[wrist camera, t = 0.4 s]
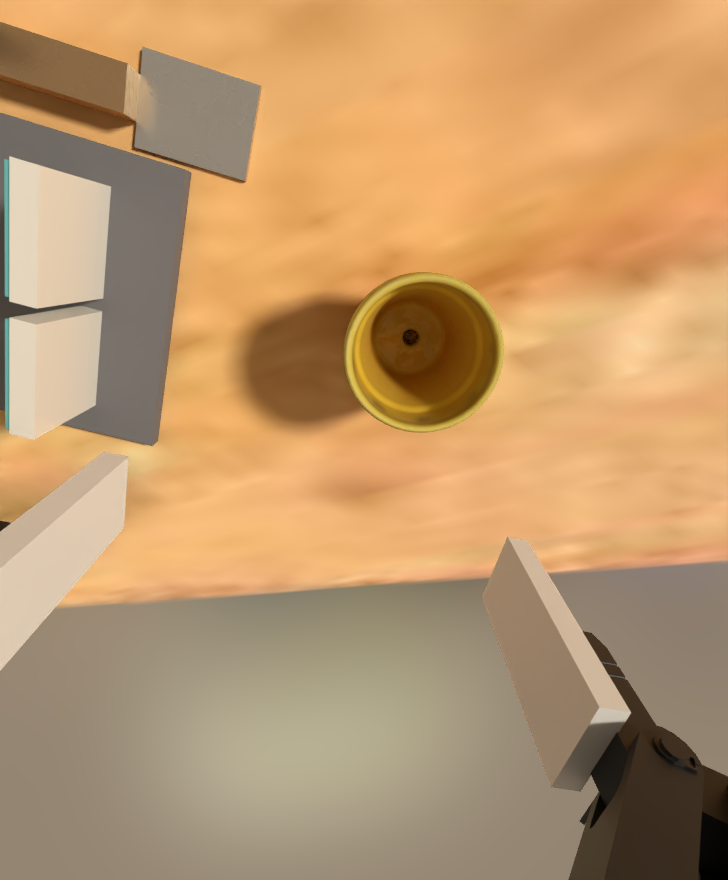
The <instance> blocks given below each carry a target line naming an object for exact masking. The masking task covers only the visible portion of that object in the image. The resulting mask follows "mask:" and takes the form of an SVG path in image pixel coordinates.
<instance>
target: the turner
mask: <svg viewBox="0 0 728 880" xmlns="http://www.w3.org/2000/svg"><path fill="white" fill-rule="evenodd" d="M0 80H3V81H6V82H10V83H13V84H16V85H19V86H22V87H25V88H29V89H32V90H35V91H38V92H41V93H45V94H48V95H51V96H54V97H57V98H61V99H64V100H67V101H70V102H73V103H77V104H80V105H83V106H86V107H89V108H93V109H96V110H99V111H102V112H105V113H108V114H112V115H115V116H118V117H121V118H124V119H128V120H131V121H134V122H136V132H135V144H134V147H135V148H138V149H141V150H144V151H147V152H151V153H154V154H157V155H160V156H164V157H167V158H170V159H174V160H177V161H180V162H183V163H187V164H190V165H193V166H196V167H200V168H203V169H206V170H209V171H213V172H216V173H219V174H222V175H226V176H229V177H232V178H235V179H239V180H242V181H245V182H246V181H247V175H248V169H249V163H250V157H251V150H252V144H253V138H254V132H255V126H256V120H257V113H258V107H259V101H260V95H261V89H262V88H261V86H260V85H257V84H254V83H251V82H248V81H245V80H242V79H239V78H235V77H232V76H229V75H226V74H223V73H220V72H217V71H214V70H211V69H208V68H205V67H202V66H199V65H196V64H193V63H190V62H187V61H184V60H181V59H178V58H175V57H172V56H169V55H166V54H163V53H160V52H157V51H154V50H151V49H148V48H145V47H143V49H142V61H141V73H140V74H139V73H138V72H137V71H135V70H134V69H133V68H132V67H131V66H130V65H128V64H127V63H124V62H121V61H118V60H115V59H112V58H109V57H106V56H103V55H100V54H97V53H94V52H90V51H87V50H84V49H81V48H78V47H75V46H72V45H69V44H66V43H63V42H60V41H57V40H54V39H51V38H48V37H45V36H41V35H38V34H35V33H32V32H29V31H26V30H23V29H20V28H17V27H14V26H11V25H8V24H5V23H2V22H0Z"/></svg>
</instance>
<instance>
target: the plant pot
mask: <svg viewBox="0 0 728 880" xmlns="http://www.w3.org/2000/svg"><path fill="white" fill-rule="evenodd" d="M409 329H411V330H414V331H416V332H417V334H418V340H417V341H416V342H415V343H414V344H407V343H405V342H404V340H403V334H404V332H405V331H407V330H409ZM503 356H504V344H503V336H502V331H501V328H500V324H499V322H498V319H497V317H496V315H495V313H494V311H493V310H492V308H491V306H490V305H489V303H488V302H487V301H486V300H485V299H484V297H483V296H482V295H481V294H480V293H479V292H477V291H476V290H475V289H474V288H472V287H471V286H469V285H468V284H466V283H464V282H463V281H460V280H458V279H456V278H454V277H451V276H447V275H443V274H438V273H430V272H417V273H409V274H405V275H401V276H398V277H395V278H393V279H390V280H388V281H386V282H384V283H383V284H381V285H379V286H378V287H377V288H375V289H374V290H373V291H372V292H370V293H369V294H368V295H367V296H366V297H365V299H364V300H363V301H362V302H361V303H360V305H359V306H358V308H357V309H356V311H355V312H354V314H353V316H352V318H351V320H350V323H349V326H348V329H347V332H346V336H345V342H344V367H345V373H346V377H347V380H348V383H349V386H350V388H351V390H352V392H353V394H354V396H355V397H356V399H357V400H358V402H359V403H360V404H361V405H362V407H363V408H364V409H365V410H366V411H367V412H368V413H370V414H371V415H372V416H373V417H374V418H376V419H377V420H379V421H381V422H383V423H384V424H386V425H388V426H391V427H393V428H396V429H400V430H403V431H408V432H434V431H439V430H443V429H446V428H449V427H452V426H454V425H456V424H458V423H460V422H462V421H464V420H465V419H467V418H468V417H470V416H471V415H472V414H473V413H474V412H476V411H477V410H478V409H479V408H480V407H481V406H482V405H483V403H484V402H485V401H486V400H487V398H488V397H489V395H490V394H491V392H492V391H493V389H494V387H495V385H496V383H497V381H498V378H499V375H500V372H501V368H502V364H503Z"/></svg>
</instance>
